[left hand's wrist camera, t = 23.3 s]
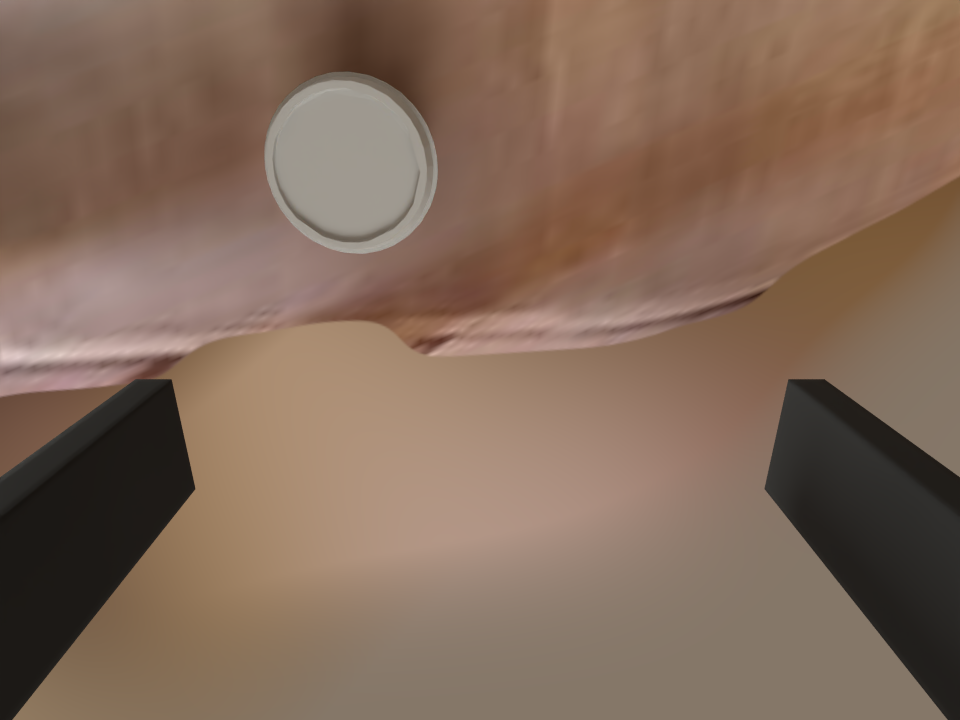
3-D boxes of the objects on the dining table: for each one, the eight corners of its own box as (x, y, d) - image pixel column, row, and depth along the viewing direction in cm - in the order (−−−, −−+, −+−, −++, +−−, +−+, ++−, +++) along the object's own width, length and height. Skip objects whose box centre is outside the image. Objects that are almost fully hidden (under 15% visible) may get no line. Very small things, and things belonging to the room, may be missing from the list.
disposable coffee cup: (430, 239, 44) (413, 277, 33) (306, 205, 43) (245, 231, 32) (462, 108, 40) (456, 100, 29) (328, 68, 39) (269, 43, 28)
